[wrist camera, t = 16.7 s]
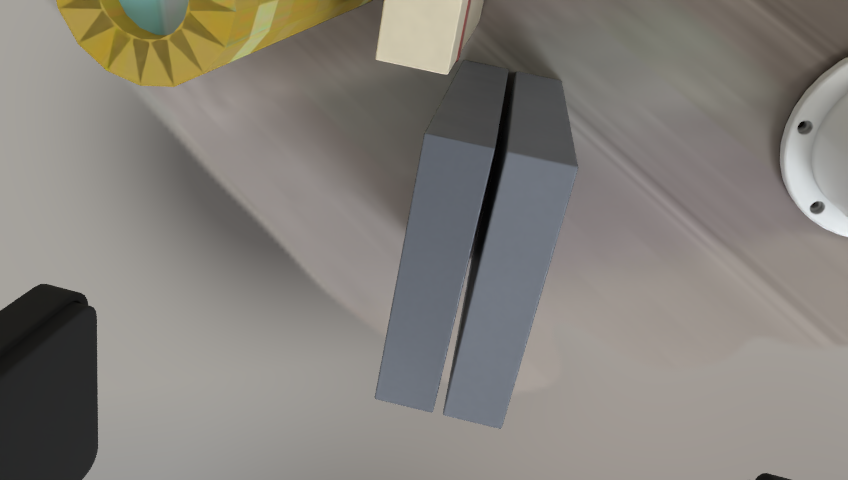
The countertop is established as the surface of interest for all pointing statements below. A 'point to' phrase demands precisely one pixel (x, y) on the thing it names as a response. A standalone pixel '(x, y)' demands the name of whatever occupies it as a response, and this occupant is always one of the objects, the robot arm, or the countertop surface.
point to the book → (186, 32)
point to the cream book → (426, 32)
